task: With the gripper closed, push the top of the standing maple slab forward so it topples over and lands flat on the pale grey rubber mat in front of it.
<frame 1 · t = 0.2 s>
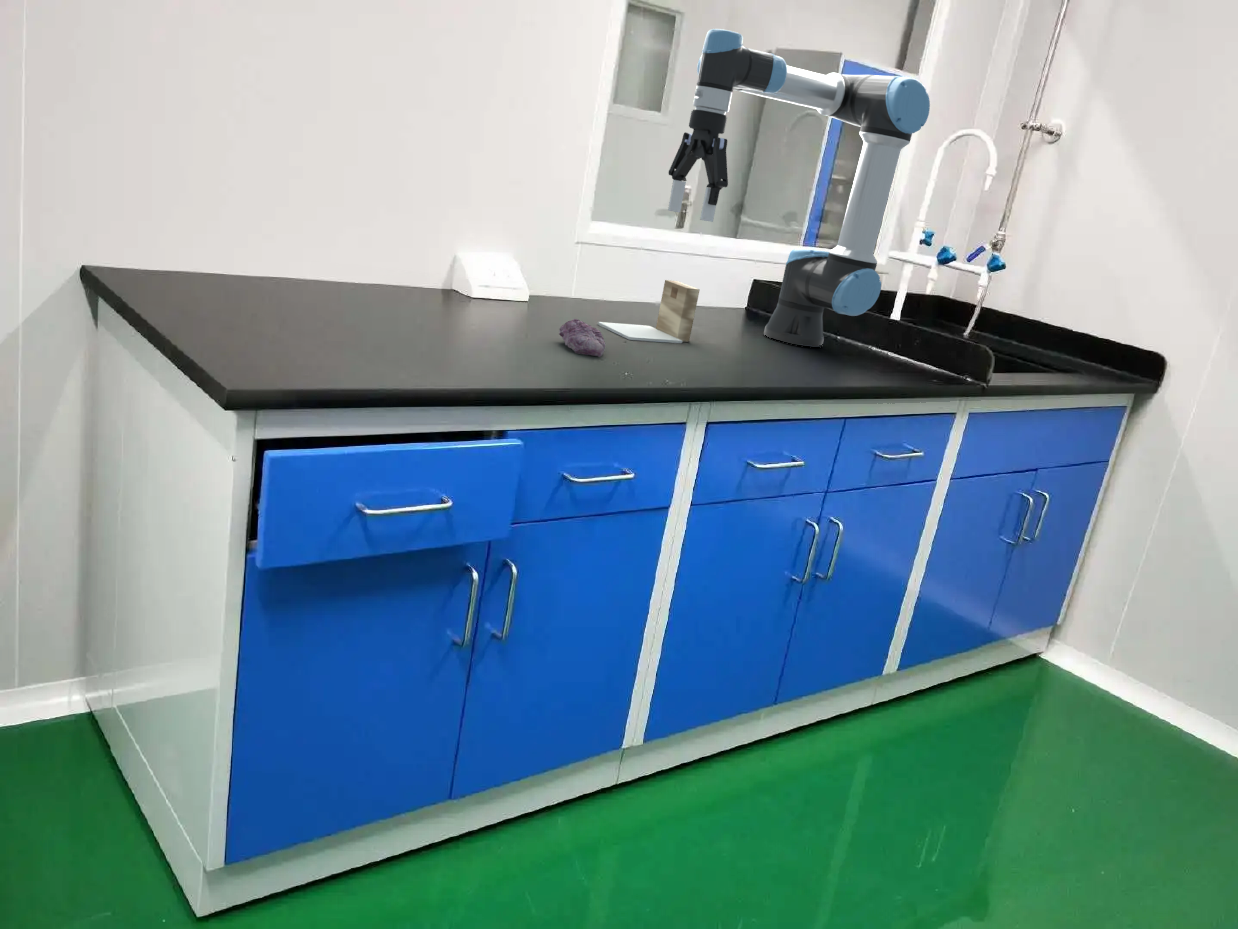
hand: (689, 216, 213), 28 cm above the worktop, fingers open, 13 cm apart
mat: (639, 333, 227), on the worktop
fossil: (580, 350, 199), on the worktop
slab: (671, 336, 232), on the worktop
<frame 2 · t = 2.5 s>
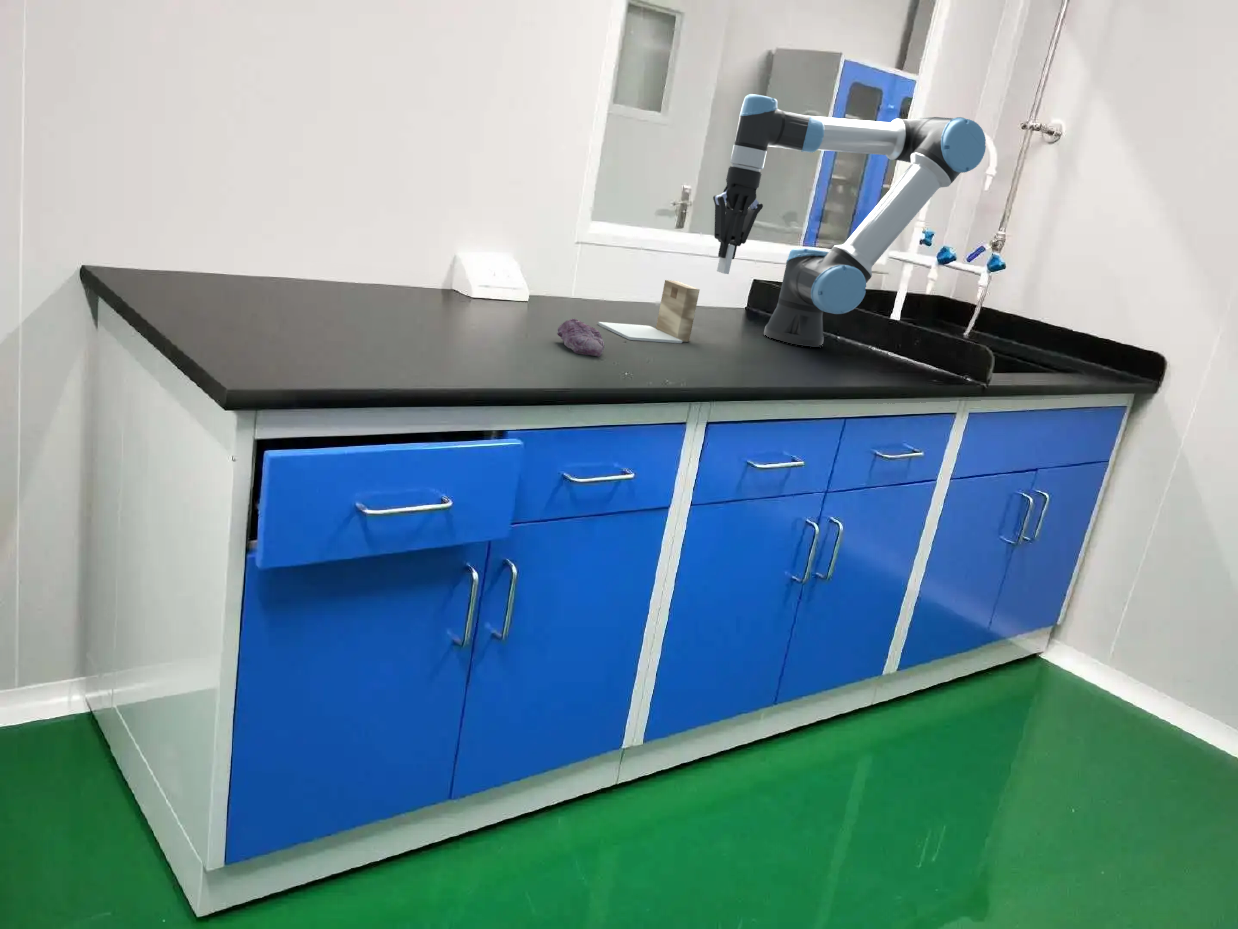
hand: (722, 272, 233), 16 cm above the worktop, fingers closed
nothing on the worktop moved.
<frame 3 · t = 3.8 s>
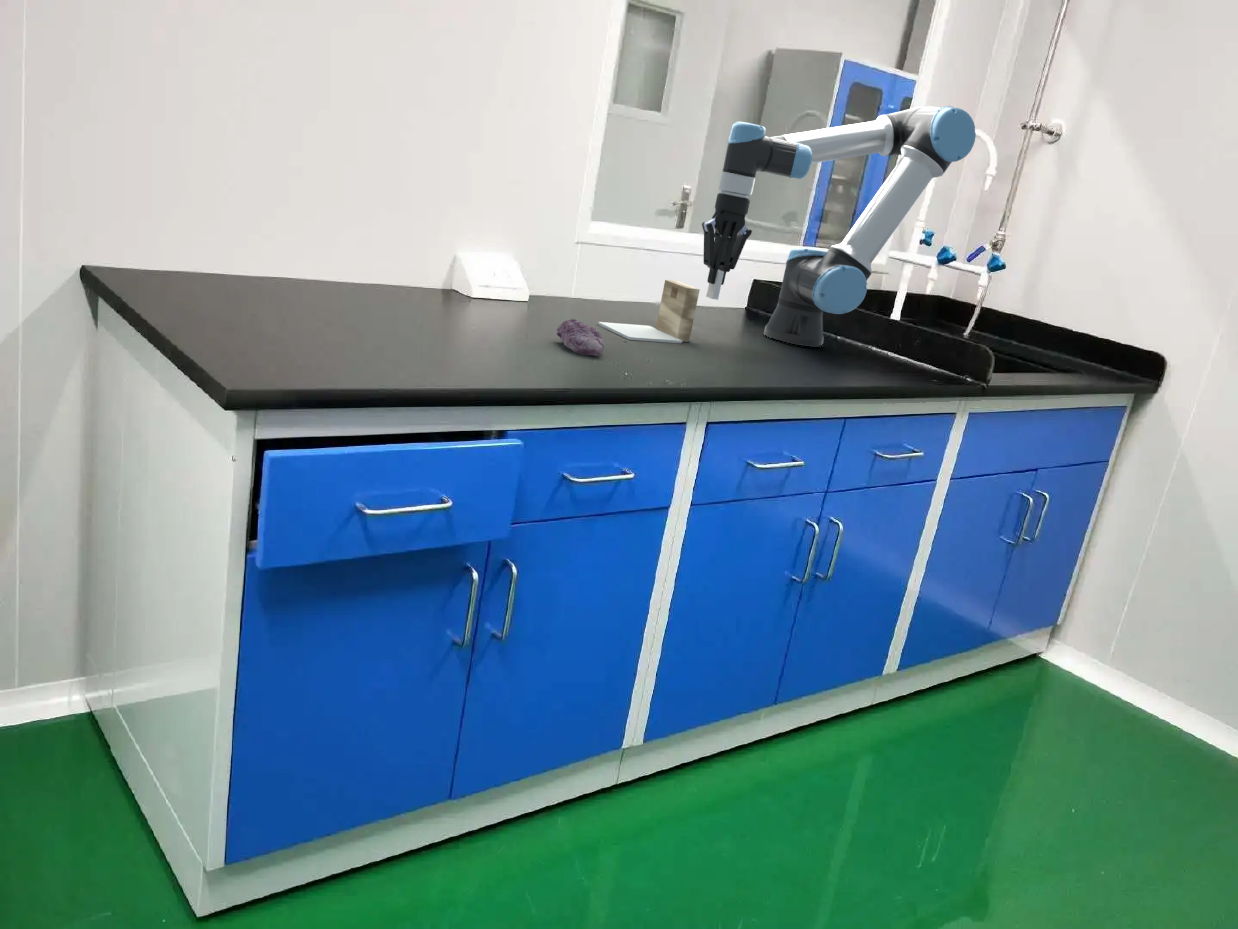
hand: (712, 297, 234), 10 cm above the worktop, fingers closed
nothing on the worktop moved.
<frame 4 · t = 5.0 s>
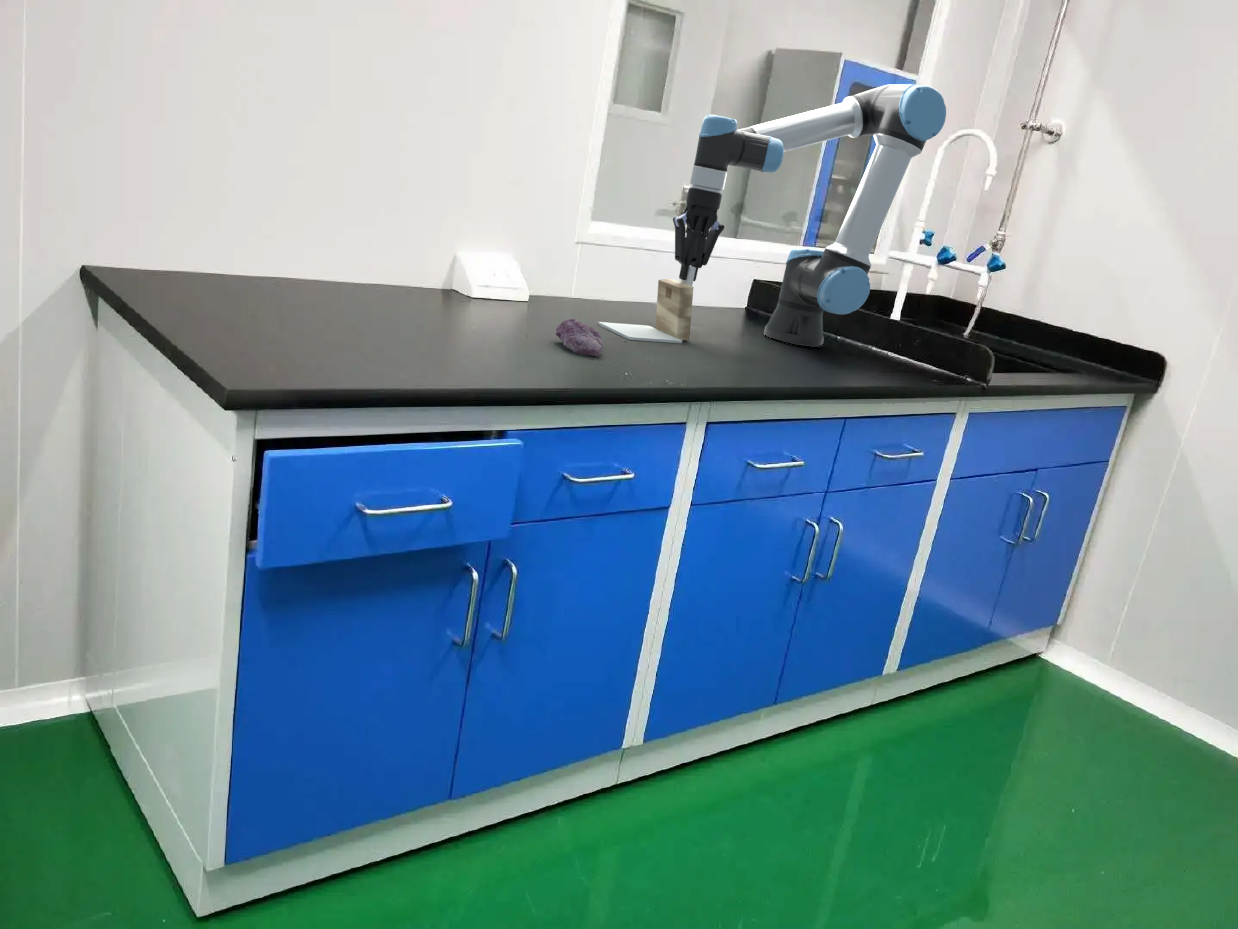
hand: (684, 294, 230), 10 cm above the worktop, fingers closed
slab: (672, 335, 232), on the worktop, tilted 9°, touching gripper
everything else where it was.
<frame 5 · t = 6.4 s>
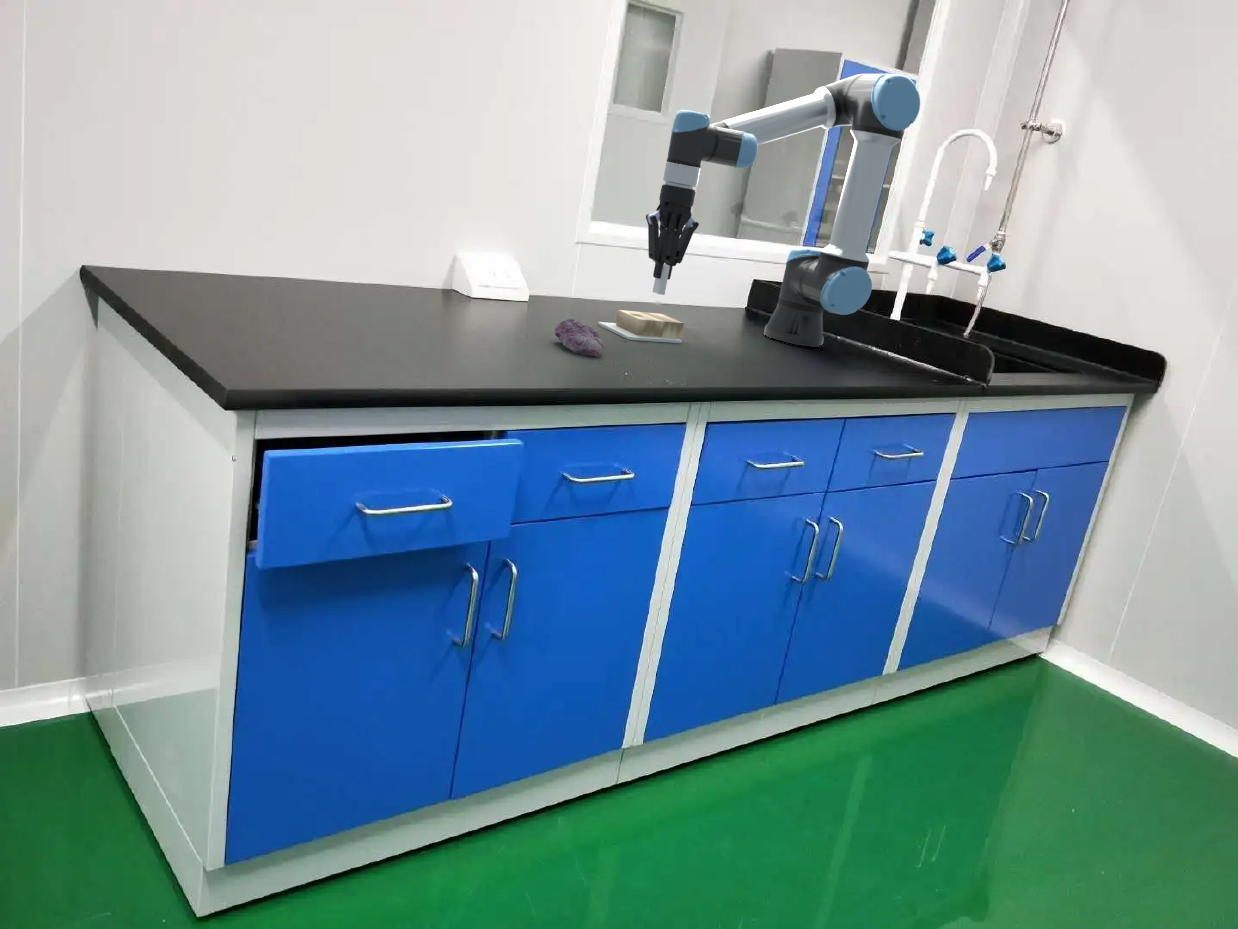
hand: (658, 293, 226), 9 cm above the worktop, fingers closed
slab: (671, 325, 231), point 2 cm above the worktop, tilted 90°, touching mat
everything else where it was.
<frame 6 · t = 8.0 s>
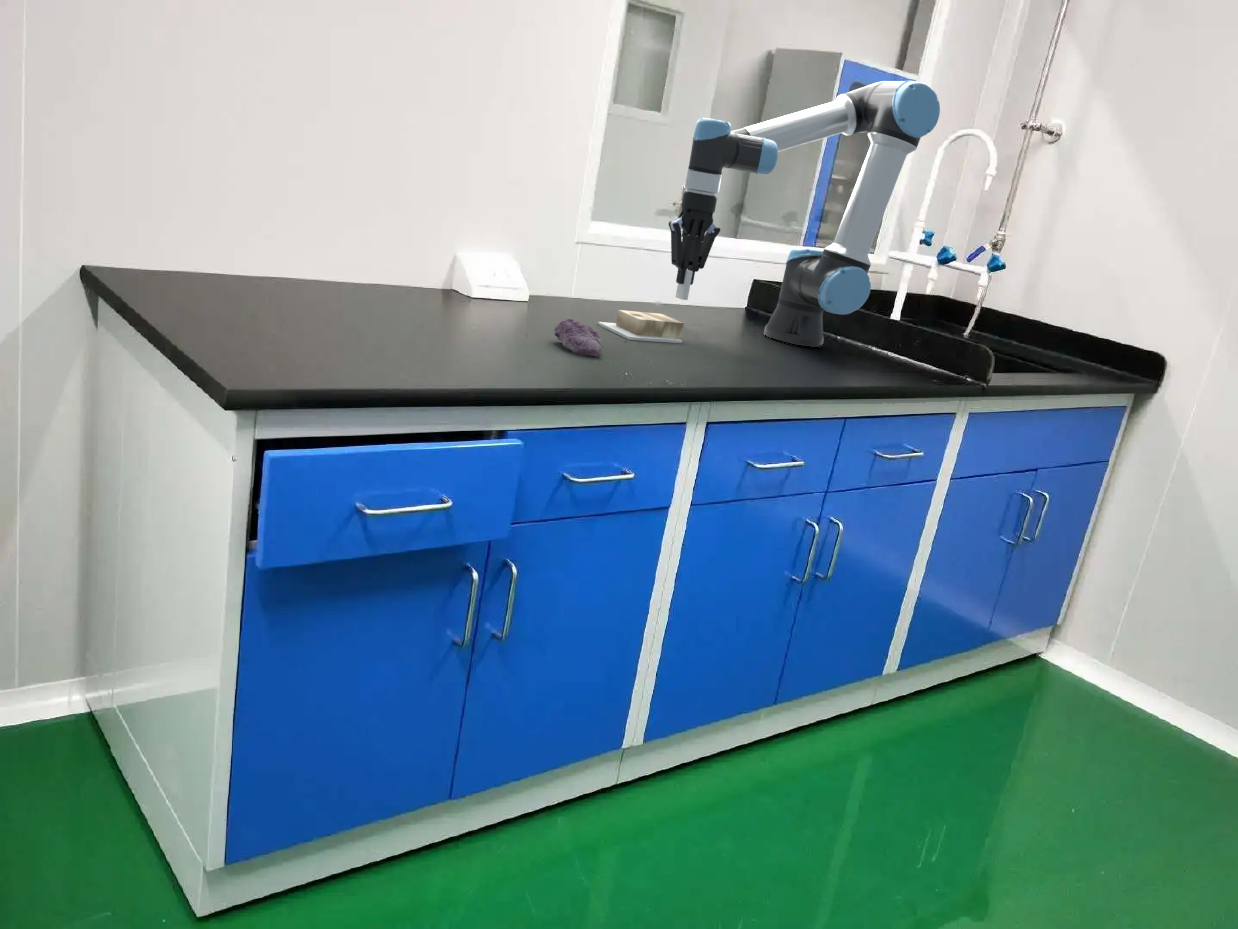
hand: (681, 298, 229), 9 cm above the worktop, fingers closed
nothing on the worktop moved.
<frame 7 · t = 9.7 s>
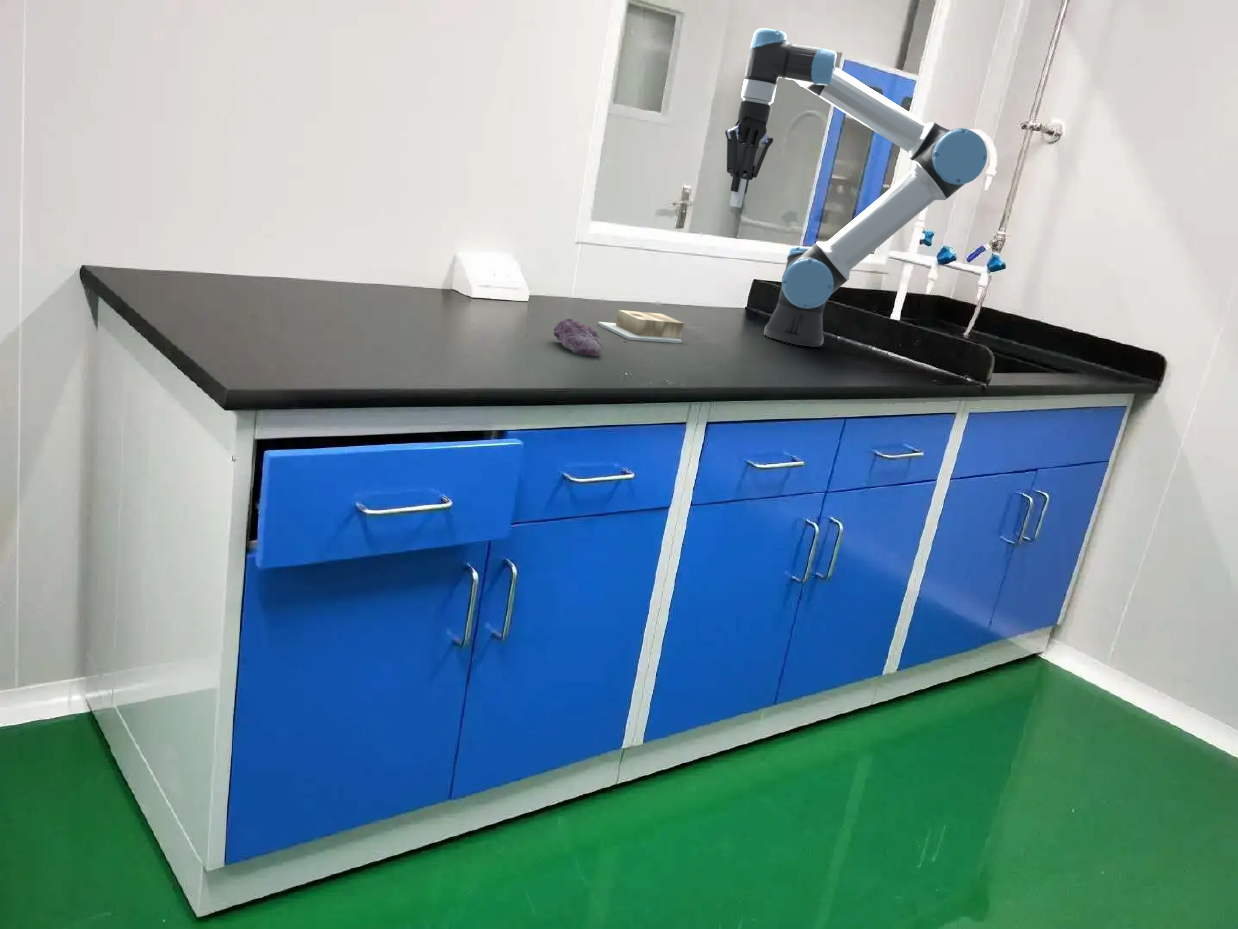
hand: (735, 206, 238), 30 cm above the worktop, fingers closed
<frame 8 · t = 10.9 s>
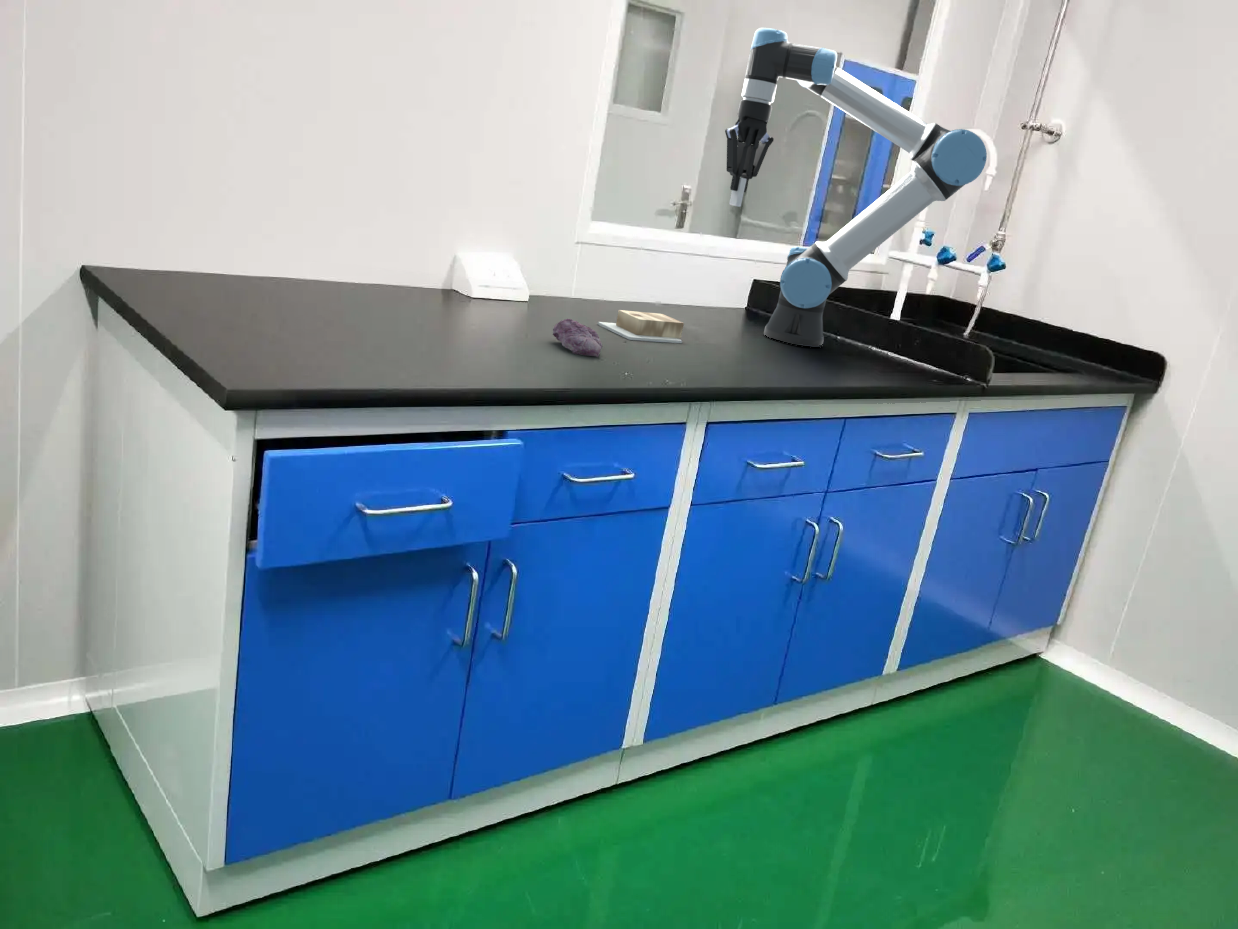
hand: (734, 205, 239), 30 cm above the worktop, fingers closed
at the end: slab tilted 90°; slab inside the target area on the mat (6.8 cm from its centre), point 2.3 cm above the mat's base; slab point 2.3 cm above the worktop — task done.
